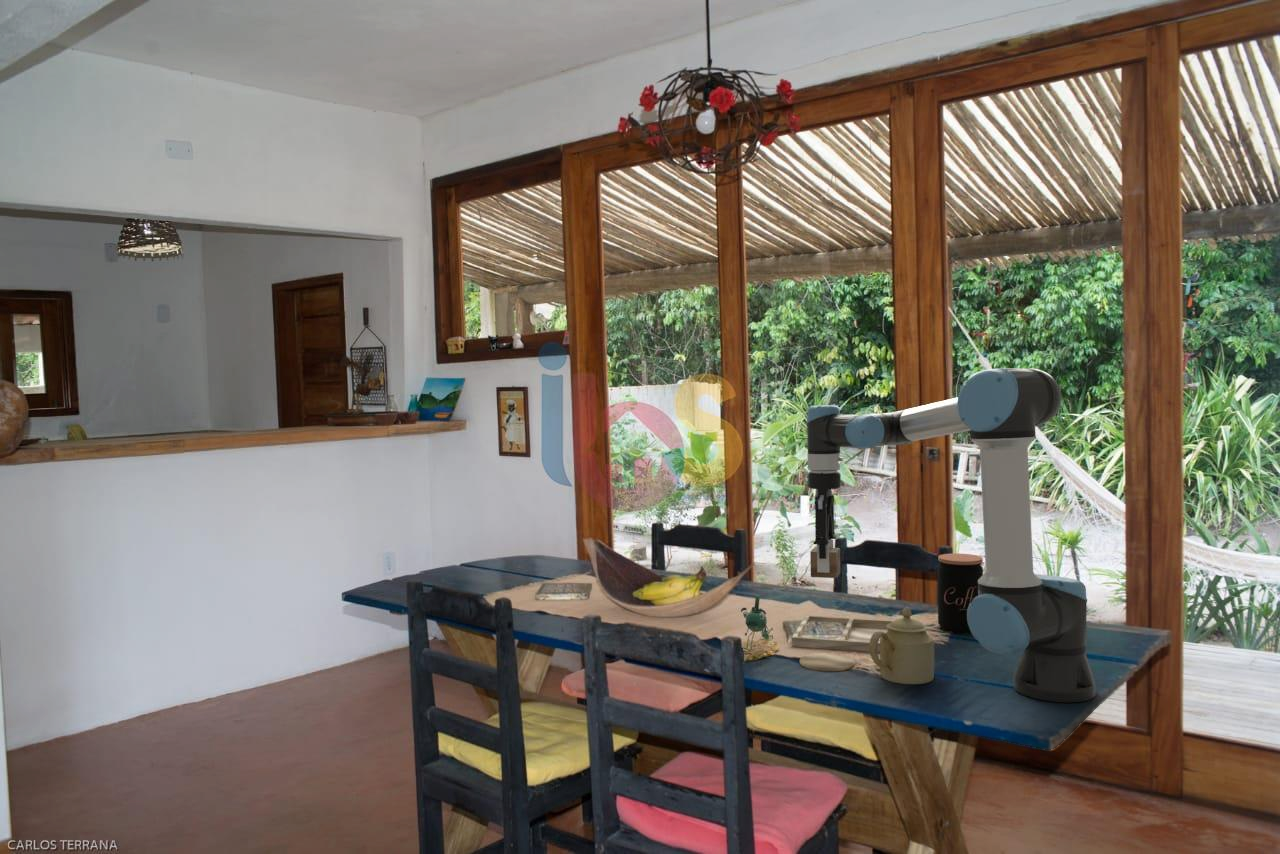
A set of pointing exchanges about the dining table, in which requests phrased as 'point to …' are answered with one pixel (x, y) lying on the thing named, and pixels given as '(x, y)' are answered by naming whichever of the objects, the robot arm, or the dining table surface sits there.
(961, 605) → the coffee jar
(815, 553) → the letter cube
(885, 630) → the tray
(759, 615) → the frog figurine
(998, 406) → the robot arm
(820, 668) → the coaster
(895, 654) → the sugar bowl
